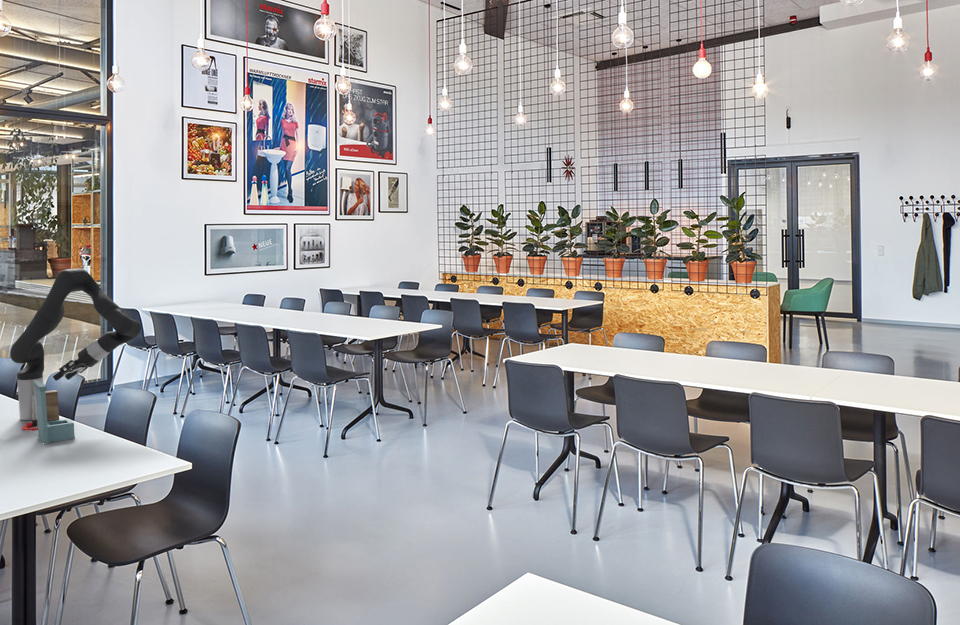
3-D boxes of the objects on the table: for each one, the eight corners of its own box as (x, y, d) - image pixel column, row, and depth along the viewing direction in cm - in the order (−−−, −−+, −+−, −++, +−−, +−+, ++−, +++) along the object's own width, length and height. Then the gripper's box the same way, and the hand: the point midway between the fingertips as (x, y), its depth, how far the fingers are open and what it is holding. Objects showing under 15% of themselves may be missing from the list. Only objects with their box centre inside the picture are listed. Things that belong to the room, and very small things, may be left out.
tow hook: (46, 430, 289) (47, 423, 297) (43, 398, 287) (45, 393, 295) (21, 432, 285) (23, 426, 293) (19, 401, 283) (21, 395, 291)
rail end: (45, 431, 285) (43, 391, 284) (58, 429, 288) (55, 390, 287) (47, 433, 283) (44, 393, 281) (60, 431, 285) (57, 391, 284)
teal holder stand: (36, 437, 277) (33, 381, 274) (68, 432, 284) (65, 377, 281) (43, 444, 266) (39, 386, 264) (76, 439, 273) (72, 383, 271)
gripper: (97, 345, 291) (64, 370, 290) (79, 345, 277) (44, 371, 276) (108, 360, 291) (75, 385, 290) (91, 360, 277) (56, 386, 276)
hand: (60, 378), depth 283 cm, fingers open, 8 cm apart
